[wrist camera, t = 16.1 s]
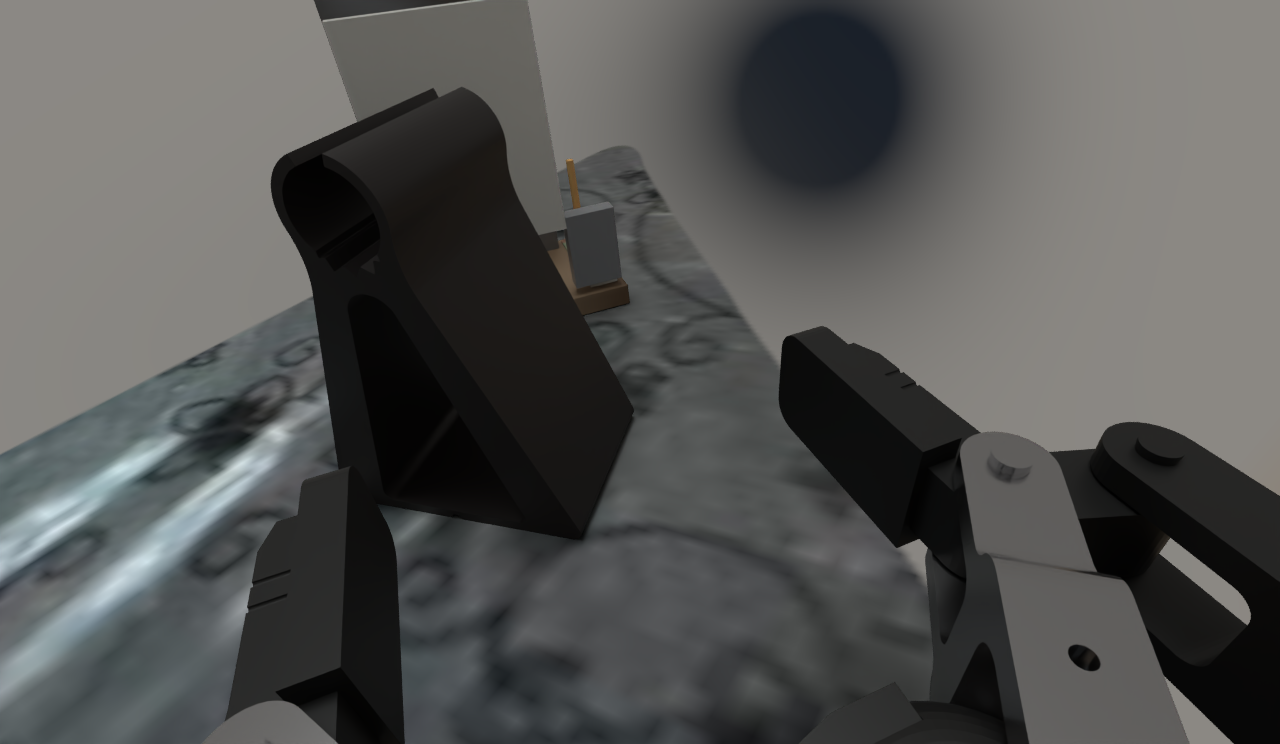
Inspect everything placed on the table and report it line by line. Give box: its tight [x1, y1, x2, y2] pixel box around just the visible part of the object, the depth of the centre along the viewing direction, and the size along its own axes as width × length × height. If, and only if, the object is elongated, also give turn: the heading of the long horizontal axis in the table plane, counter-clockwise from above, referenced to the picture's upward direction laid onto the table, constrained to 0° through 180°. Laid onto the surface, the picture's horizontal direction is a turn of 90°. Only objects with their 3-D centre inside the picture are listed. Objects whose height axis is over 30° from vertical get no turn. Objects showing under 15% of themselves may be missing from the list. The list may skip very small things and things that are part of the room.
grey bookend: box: [314, 0, 630, 315], centre depth 27 cm, size 12×7×14 cm, turn 110°
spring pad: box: [322, 0, 622, 289], centre depth 25 cm, size 9×1×12 cm, turn 110°
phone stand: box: [271, 87, 634, 540], centre depth 18 cm, size 9×6×12 cm, turn 74°
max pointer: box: [566, 159, 580, 209], centre depth 31 cm, size 1×1×5 cm
